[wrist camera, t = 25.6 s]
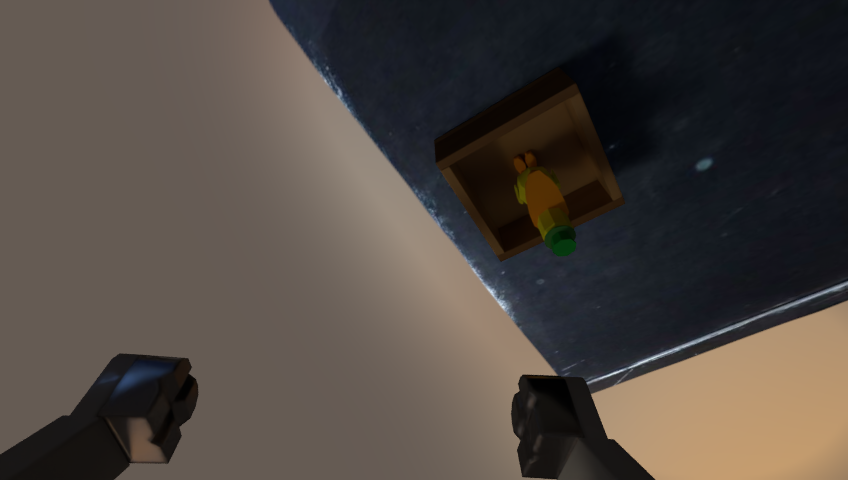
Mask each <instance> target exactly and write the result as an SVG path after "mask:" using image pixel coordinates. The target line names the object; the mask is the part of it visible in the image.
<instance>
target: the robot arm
mask: <svg viewBox="0 0 848 480" xmlns="http://www.w3.org/2000/svg"><path fill="white" fill-rule="evenodd" d="M191 368H192V366H191V364H190V362H189V359H188V358H177V357H164V356H150V355H136V354H118V355H117V356H116V357H114V358H113V359H112V360H111V361H110V362H109V364H108V365H107V366H106V368H105V369H104V370H103V372H102V373H101V374H100V376H99V377H98V378H97V380H96V381H95V383H94V384H93V385H92V386H91V388H90V389H89V390H88V392H87V393H86V394H85V396H84V397H83V398H82V400H81V401H80V402H79V404H78V405H77V406H76V408H75V409H74V411H73V412H72V413H71V415H70V416H61V417H60V418H58V419H56V420H55V421H54V422H52V423H50V424H48V425H47V426H45V427H44V428H42V429H40V430H39V431H37V432H36V433H34V434H33V435H31V436H29V437H28V438H26V439H24V440H23V441H21V442H20V443H18V444H16V445H15V446H13V447H12V448H10V449H8V450H7V451H5V452H4V453H2V454H0V480H114V479H115V478H116V477H117V476H119V475H120V474H121V473H122V472H123V471H124V470H125V469H126V468H127V467H128V466H129V465H130V464H129V463H165V464H168V463H169V461H170V459H171V457H172V455H173V453H174V451H175V449H176V447H177V444H178V442H179V440H180V438H181V436H182V435H181V432H180V429H179V427H180V426H181V425H182V424H183V423H185V422H186V421H187V420H189V419H190V418H191V415H192V413H193V411H194V409H195V407H196V402H197V398H198V384H197V381H196V379H195V378H194V377H192V376H191V375H190V374H189V372H190V370H191ZM518 385H519V390H520V391H519V392H518V393H516V394H515V395H514V398H513V402H512V411H511V416H512V425H513V431H514V433H515V435H516V436H517V437H518V438H519V439H520V440H521V441H520V444H519V446H518V449H517V452H518V457H519V462H520V467H521V473H522V477H530V478H544V479H557V480H655V479H654V478H653V477H652V476H651V475H650V474H649V473H648V472H647V471H646V470H645V469H644V468H643V467H642V466H641V465H640V464H639V463H638V462H637V461H636V460H635V459H633V458H632V457H631V456H630V455H629V454H628V453H627V452H626V451H625V450H624V449H623V448H622V447H621V446H620V445H619V444H618V443H617V442H616V441H615V440H613V439H608V438H607V435H606V433H605V430H604V428H603V425H602V422H601V420H600V417H599V414H598V412H597V409H596V407H595V404H594V401H593V399H592V397H591V394H590V391H589V388H588V386H587V383H586V381H585V380H584V379H583V378H581V377H561V376H548V375H522V376H521V377H520V380H519V383H518Z"/></svg>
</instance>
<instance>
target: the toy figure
mask: <svg viewBox="0 0 848 480" xmlns="http://www.w3.org/2000/svg"><path fill="white" fill-rule="evenodd" d="M525 162H526V164H527V166H528V168H527V169H526V165H525V163H524V161H523V159H522V158H521V157H520V156H519V155H518V156H516V157H514V166H515V168H516V170H517V171H518V172H519V173H520V175H519V176H518V177H517V187H516V185H514V188H515V193H516V196H517V199H518V201H519V203H520V204H523V203H524V202H525V203H526V204H527V206H528V210H529V214H530V217H531V219H532V222H533V224H534V226H535V227H537V228H538V229H539V230H540V233H541V235H542V238H543V240H544V242H545V245H546V246H547V247H548V248H550V249H552V250H553V253H554V254H556V255H557V256H568V255H569V254H571V253H572V252H573V251H575V248H576V242H575V241H574V240H575V237H576V233H575V231H574V227H573V226H572V224H571V222H570V220H569V218H568V214H569V210H568V208H567V205H566V202H565V200H564V198H563V196H562V194H561V192H560V191H559V189H560V188H561V185H560V182H559V180H558V178H557V176H556V174H555V173H554V171H553V170H552V169H551V174H552V175H551V174H550V173H549V172H548V171H547V170H546V169H545V168H544V167H543V166H540V167H537V161H536V158H535V156H534V155H533V153H532V152H531V151H528V152H526V153H525Z"/></svg>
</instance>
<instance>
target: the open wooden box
mask: <svg viewBox="0 0 848 480" xmlns="http://www.w3.org/2000/svg"><path fill="white" fill-rule="evenodd" d="M434 144H435V158H436V165H437V166H438V168H439V169H440V170H441V172H442V174H443V175H444V177H445V178H446V180H447V181H448V183H449V184H450V186H451V187H452V189H453V190H454V192H455V193H456V195H457V197H458V198H459V200H460V201H461V203H462V204H463V206H464V207H465V209H466V210H467V212H468V213H469V215H470V216H471V218H472V219H473V221H474V222H475V224H476V225H477V227H478V228H479V230H480V231H481V233H482V234H483V236H484V237H485V239H486V240H487V242H488V243H489V245H490V246H491V248H492V249H493V251H494V252H495V254H496V255H497V257H498V258H499V260H500V261H501V262H502V261H504V260H506V259H508V258H510V257H512V256H514V255H517V254H519V253H521V252H523V251H525V250H527V249H529V248H532V247H534V246H536V245H538V244H540V243H542V242H544V240H543V238H542V235H541V233H540V230H539V229H538V228H537V227H535V226H534V224H533V222H532V219H531V217H530V214H529V210H528V206H527V204H526V203H525V202H524V203H523V204H520V203H519V201H518V199H517V196H516V193H515V188H514V185H516V187H517V177H518V176H519V175H520V173H519V172H518V171H517V170H516V168H515V166H514V157H516V156H518V155H519V156H520V157H521V158H522V159H523V161H524V163H525V165H526V169H527V168H528V166H527V164H526V162H525V153H526V152H528V151H531V152H532V153H533V155H534V156H535V158H536V161H537V167H540V166H543V167H544V168H545V169H546V170H547V171H548V172H549V173H550V174H551V169H552V170H553V171H554V173H555V174H556V176H557V178H558V180H559V182H560V185H561V188H560V189H559V191H560V192H561V194H562V196H563V198H564V200H565V202H566V205H567V208H568V210H569V214H568V218H569V220H570V222H571V224H572V226H573V227H576V226H578V225H581V224H583V223H585V222H587V221H589V220H591V219H593V218H595V217H598V216H600V215H602V214H604V213H606V212H608V211H610V210H612V209H615V208H617V207H619V206H621V205H623V204H625V201H624V198H623V196H622V193H621V191H620V189H619V186H618V184H617V181H616V179H615V176H614V174H613V171H612V169H611V167H610V164H609V162H608V159H607V157H606V154H605V152H604V149H603V147H602V145H601V142H600V140H599V137H598V135H597V132H596V130H595V128H594V125H593V123H592V120H591V118H590V115H589V113H588V110H587V108H586V106H585V103H584V101H583V98H582V96H581V93H580V92H579V89H578V86H577V84H576V83H575V82H574V81H573V80H572V79H571V78H570V77H569V76H568V75H567V74H565V73H564V72H563V71H562V70H561V69H560V68H559V67H557V68H555V69H554V70H552V71H550V72H549V73H547V74H545V75H544V76H542V77H540V78H539V79H537V80H535V81H534V82H532V83H530V84H529V85H527V86H525V87H523V88H522V89H520V90H518V91H517V92H515V93H513V94H512V95H510V96H508V97H507V98H505V99H503V100H502V101H500V102H498V103H497V104H495V105H493V106H491V107H490V108H488V109H486V110H485V111H483V112H481V113H480V114H478V115H476V116H475V117H473V118H471V119H470V120H468V121H466V122H464V123H463V124H461V125H459V126H458V127H456V128H454V129H453V130H451V131H449V132H448V133H446V134H444V135H443V136H441V137H439V138H438V139H436V140H434ZM551 175H552V174H551Z"/></svg>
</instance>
